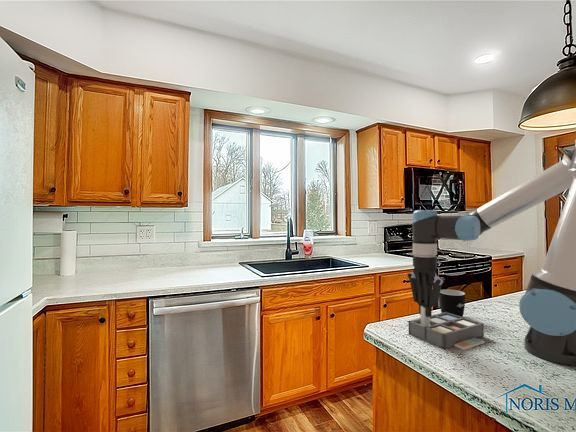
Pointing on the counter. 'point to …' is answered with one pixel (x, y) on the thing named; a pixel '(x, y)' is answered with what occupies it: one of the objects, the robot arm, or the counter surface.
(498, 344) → the counter surface
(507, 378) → the counter surface
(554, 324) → the robot arm
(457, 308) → the mug
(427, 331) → the gray compartment tray
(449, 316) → the key
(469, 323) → the key
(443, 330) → the key
